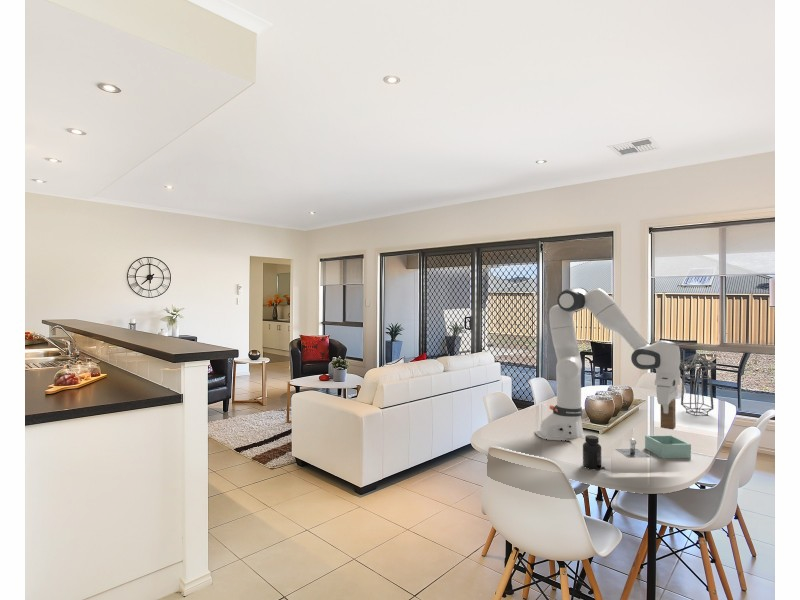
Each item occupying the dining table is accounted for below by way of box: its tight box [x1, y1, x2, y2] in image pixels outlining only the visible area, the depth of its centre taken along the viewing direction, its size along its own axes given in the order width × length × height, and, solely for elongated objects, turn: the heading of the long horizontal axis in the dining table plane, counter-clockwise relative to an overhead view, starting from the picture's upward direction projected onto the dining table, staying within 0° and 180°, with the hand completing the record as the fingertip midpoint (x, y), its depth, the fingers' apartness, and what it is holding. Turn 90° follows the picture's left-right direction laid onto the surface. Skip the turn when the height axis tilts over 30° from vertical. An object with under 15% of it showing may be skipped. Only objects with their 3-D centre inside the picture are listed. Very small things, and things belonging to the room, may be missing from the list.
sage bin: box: [644, 434, 692, 460], centre depth 188 cm, size 12×12×7 cm
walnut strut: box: [660, 399, 677, 430], centre depth 188 cm, size 5×5×12 cm
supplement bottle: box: [582, 434, 603, 470], centre depth 175 cm, size 7×7×12 cm
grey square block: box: [615, 438, 651, 459], centre depth 187 cm, size 10×10×8 cm
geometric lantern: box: [679, 353, 718, 417], centre depth 258 cm, size 16×16×35 cm
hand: (667, 411), depth 188 cm, fingers closed on walnut strut, 5 cm apart
